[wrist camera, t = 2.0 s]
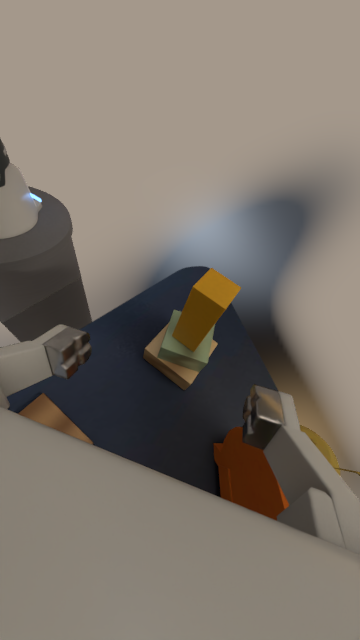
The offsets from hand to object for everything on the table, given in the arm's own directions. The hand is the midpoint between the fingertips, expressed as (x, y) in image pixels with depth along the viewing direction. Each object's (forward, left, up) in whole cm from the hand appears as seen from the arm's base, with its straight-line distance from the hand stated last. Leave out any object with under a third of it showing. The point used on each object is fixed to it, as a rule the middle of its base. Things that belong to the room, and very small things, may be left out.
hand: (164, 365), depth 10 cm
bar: (-2, +12, -17) cm, 21 cm away
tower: (-2, +12, -25) cm, 28 cm away
